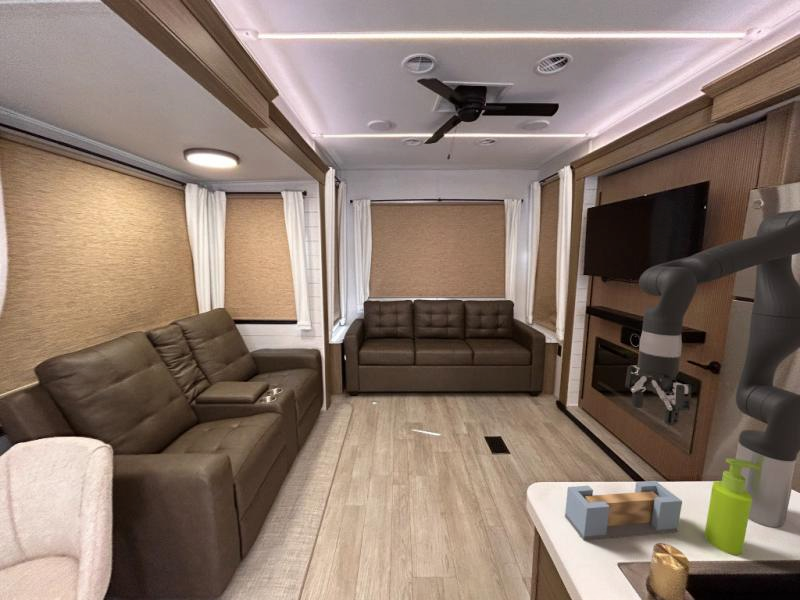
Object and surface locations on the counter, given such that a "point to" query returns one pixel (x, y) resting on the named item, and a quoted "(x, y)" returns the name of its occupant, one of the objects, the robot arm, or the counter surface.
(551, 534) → the counter surface
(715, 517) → the soap dispenser
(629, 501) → the slat
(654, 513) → the end caps
